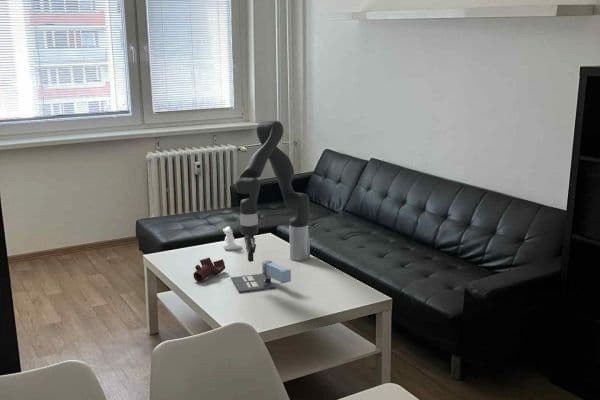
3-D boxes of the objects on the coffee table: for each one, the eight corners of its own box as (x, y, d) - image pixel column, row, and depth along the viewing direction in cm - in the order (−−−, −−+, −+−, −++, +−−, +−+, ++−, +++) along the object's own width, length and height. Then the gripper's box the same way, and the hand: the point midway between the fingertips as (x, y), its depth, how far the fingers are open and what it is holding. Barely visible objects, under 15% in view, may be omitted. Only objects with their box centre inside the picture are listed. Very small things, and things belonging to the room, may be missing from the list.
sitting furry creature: (243, 248, 361) (242, 226, 358) (231, 252, 355) (230, 229, 352) (230, 245, 367) (229, 223, 364) (218, 248, 361) (217, 226, 358)
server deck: (266, 275, 320) (265, 267, 319) (276, 288, 304) (275, 280, 303) (231, 279, 316) (230, 271, 315) (239, 293, 299) (238, 285, 298)
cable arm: (260, 273, 311) (259, 261, 310) (269, 271, 314) (268, 259, 312) (281, 283, 298) (281, 271, 296) (290, 281, 300) (290, 269, 299)
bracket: (229, 267, 324) (219, 248, 323) (207, 285, 311) (197, 266, 310) (220, 269, 328) (210, 251, 326) (198, 287, 315) (188, 268, 313)
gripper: (261, 225, 294) (262, 264, 298) (254, 218, 306) (255, 255, 310) (243, 227, 291) (245, 266, 296) (237, 219, 304) (239, 257, 308)
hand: (250, 261), depth 303 cm, fingers closed
